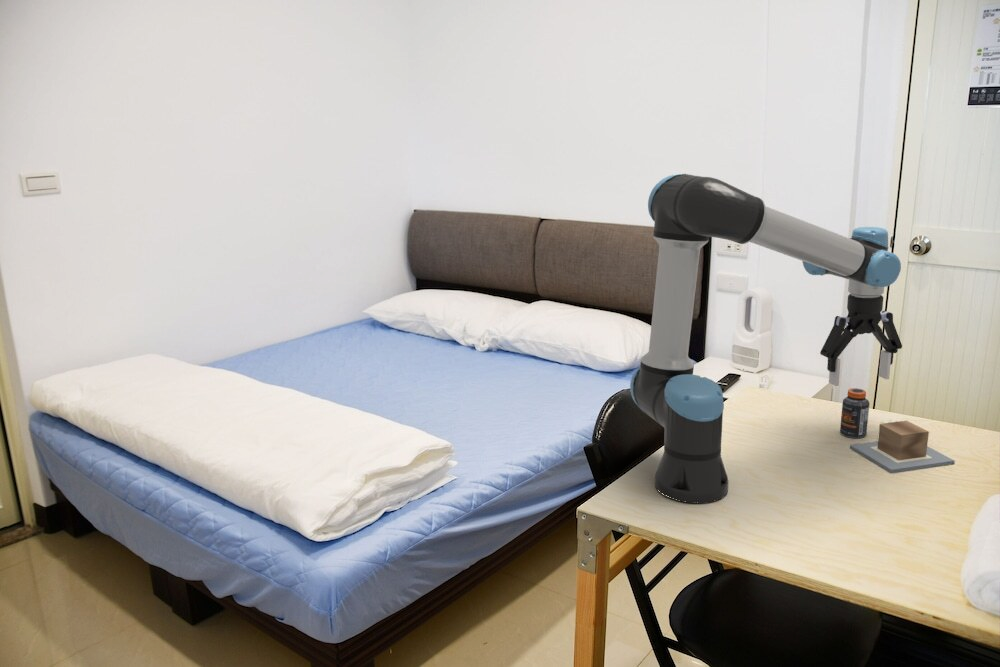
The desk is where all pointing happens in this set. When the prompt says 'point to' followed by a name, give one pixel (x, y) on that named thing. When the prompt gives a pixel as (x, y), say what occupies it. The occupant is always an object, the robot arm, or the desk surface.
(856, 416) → the pill bottle
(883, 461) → the board
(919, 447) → the walnut block
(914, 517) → the desk surface
